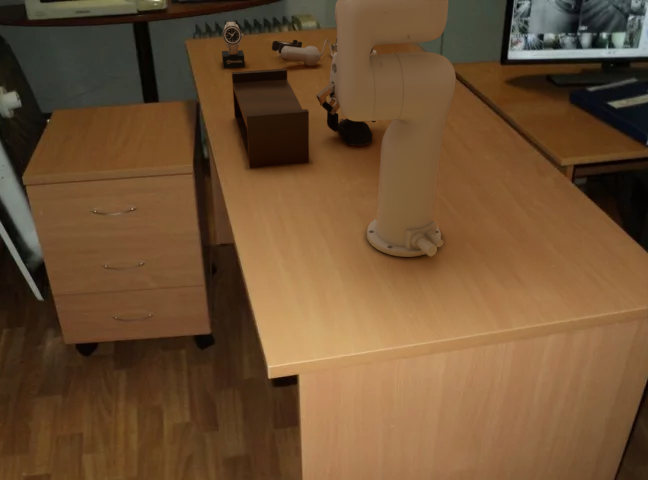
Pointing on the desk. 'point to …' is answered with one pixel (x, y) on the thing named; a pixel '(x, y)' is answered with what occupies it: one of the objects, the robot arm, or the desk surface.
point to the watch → (232, 46)
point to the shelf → (270, 118)
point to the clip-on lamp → (298, 52)
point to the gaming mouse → (354, 132)
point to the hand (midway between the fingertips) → (352, 124)
